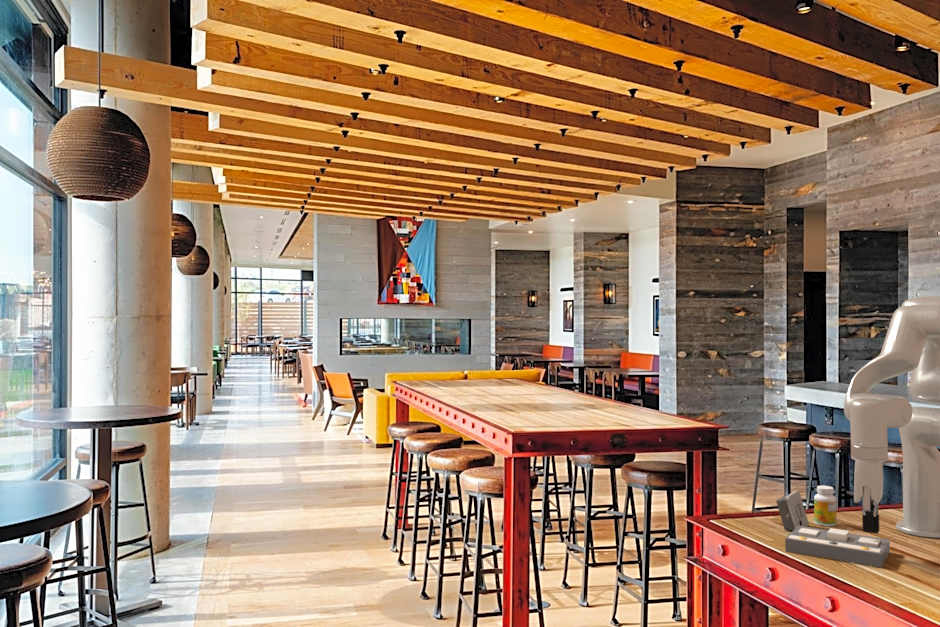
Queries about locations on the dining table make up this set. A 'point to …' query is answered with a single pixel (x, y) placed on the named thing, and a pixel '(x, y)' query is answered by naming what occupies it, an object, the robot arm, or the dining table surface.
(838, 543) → the switch panel
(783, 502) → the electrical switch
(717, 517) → the dining table surface
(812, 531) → the left button
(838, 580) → the dining table surface
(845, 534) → the middle button
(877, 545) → the right button
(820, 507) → the supplement bottle
